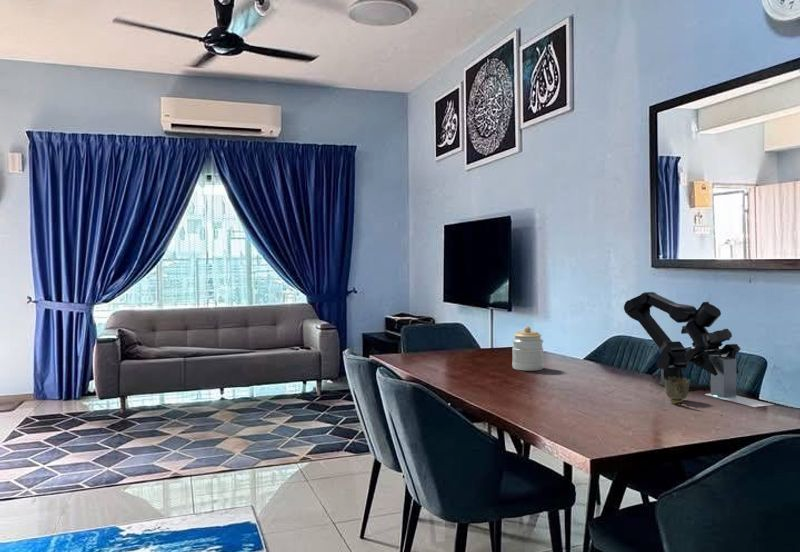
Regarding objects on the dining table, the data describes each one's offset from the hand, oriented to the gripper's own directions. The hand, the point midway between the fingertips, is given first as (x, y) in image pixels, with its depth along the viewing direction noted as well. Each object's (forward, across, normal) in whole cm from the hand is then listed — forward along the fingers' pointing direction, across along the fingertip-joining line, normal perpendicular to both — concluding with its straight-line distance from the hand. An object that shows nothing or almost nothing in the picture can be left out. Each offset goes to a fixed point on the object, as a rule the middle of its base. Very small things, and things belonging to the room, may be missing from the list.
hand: (727, 374), depth 198 cm
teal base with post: (+5, 0, +7) cm, 8 cm away
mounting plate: (+9, 0, +3) cm, 9 cm away
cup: (+5, -19, +7) cm, 21 cm away
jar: (-47, -29, +59) cm, 80 cm away
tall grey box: (+4, 0, +6) cm, 7 cm away
